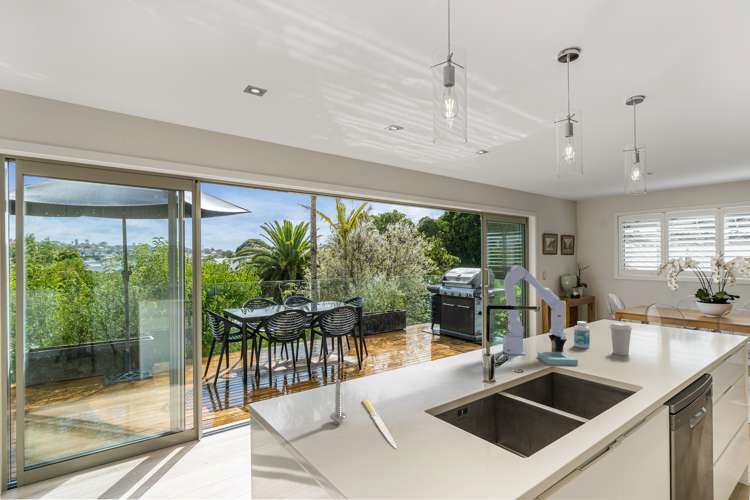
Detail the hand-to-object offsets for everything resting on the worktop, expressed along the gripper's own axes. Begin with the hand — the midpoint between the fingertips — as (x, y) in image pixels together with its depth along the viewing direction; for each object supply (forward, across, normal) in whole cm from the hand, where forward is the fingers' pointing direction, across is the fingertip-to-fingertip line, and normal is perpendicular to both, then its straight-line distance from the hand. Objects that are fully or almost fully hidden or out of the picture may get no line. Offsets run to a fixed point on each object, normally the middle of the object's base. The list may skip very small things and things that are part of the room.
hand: (557, 350), depth 190 cm
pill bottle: (+2, +17, -20) cm, 26 cm away
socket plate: (+2, -12, +5) cm, 13 cm away
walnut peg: (+2, 0, 0) cm, 2 cm away
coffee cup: (+2, +4, -33) cm, 33 cm away
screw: (+2, -82, +98) cm, 128 cm away
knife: (+2, -80, +85) cm, 117 cm away
